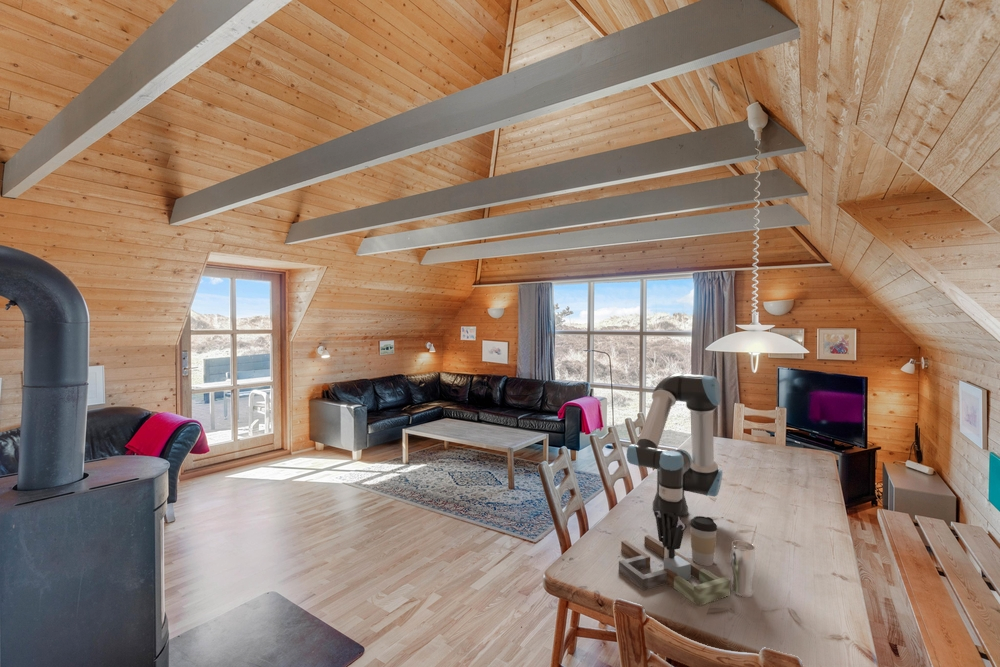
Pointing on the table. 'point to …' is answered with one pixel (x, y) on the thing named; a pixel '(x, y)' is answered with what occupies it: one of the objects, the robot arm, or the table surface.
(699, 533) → the coffee cup
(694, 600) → the corridor
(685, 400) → the robot arm
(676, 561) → the block
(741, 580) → the beer glass
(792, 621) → the table surface
